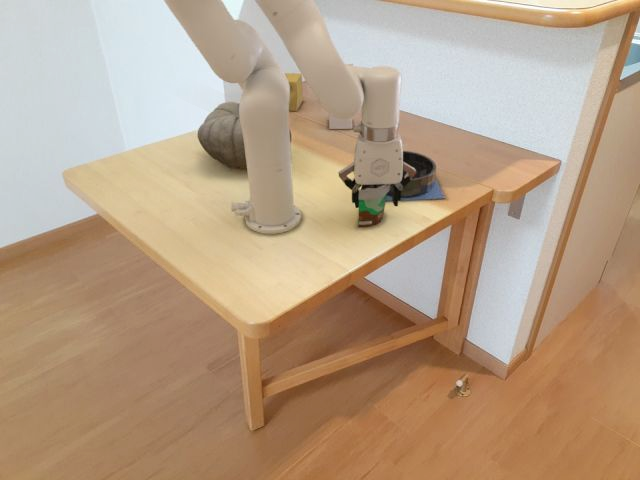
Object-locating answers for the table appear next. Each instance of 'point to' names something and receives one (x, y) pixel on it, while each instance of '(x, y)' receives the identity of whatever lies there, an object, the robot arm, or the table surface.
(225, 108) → the gourd
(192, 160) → the table surface
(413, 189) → the pan
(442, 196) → the napkin
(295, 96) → the cheese
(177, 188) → the table surface
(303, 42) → the robot arm
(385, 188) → the food container
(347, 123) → the milk carton
